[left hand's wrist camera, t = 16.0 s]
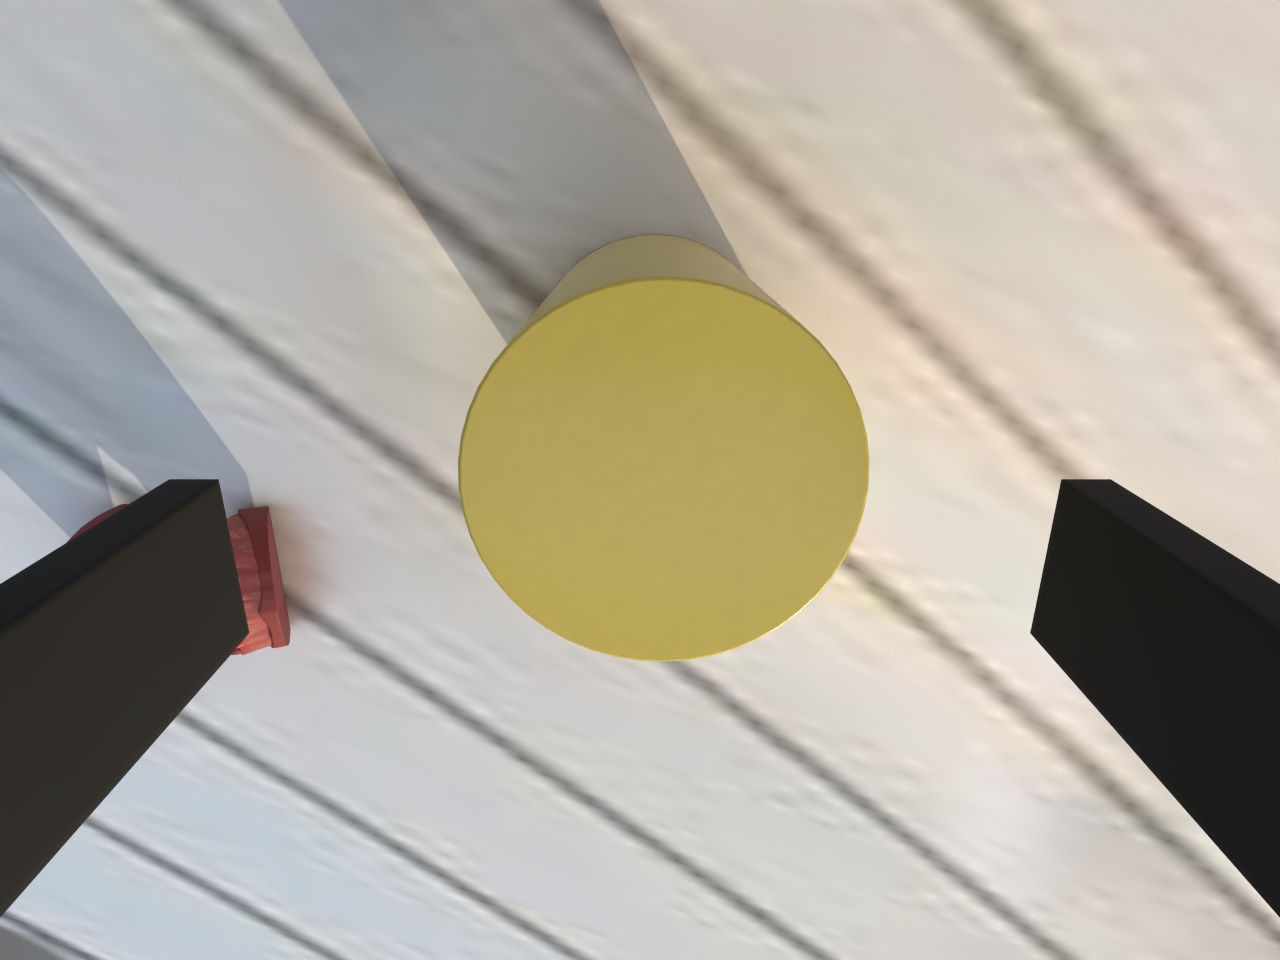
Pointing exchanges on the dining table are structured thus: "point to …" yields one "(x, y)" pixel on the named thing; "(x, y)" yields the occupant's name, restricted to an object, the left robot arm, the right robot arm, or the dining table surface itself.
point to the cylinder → (662, 457)
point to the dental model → (250, 577)
